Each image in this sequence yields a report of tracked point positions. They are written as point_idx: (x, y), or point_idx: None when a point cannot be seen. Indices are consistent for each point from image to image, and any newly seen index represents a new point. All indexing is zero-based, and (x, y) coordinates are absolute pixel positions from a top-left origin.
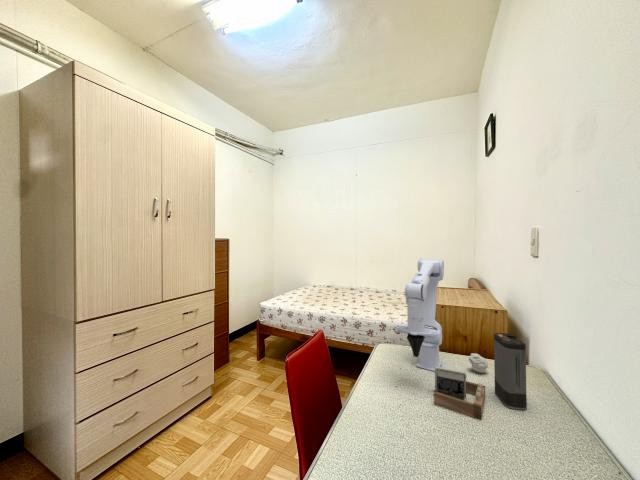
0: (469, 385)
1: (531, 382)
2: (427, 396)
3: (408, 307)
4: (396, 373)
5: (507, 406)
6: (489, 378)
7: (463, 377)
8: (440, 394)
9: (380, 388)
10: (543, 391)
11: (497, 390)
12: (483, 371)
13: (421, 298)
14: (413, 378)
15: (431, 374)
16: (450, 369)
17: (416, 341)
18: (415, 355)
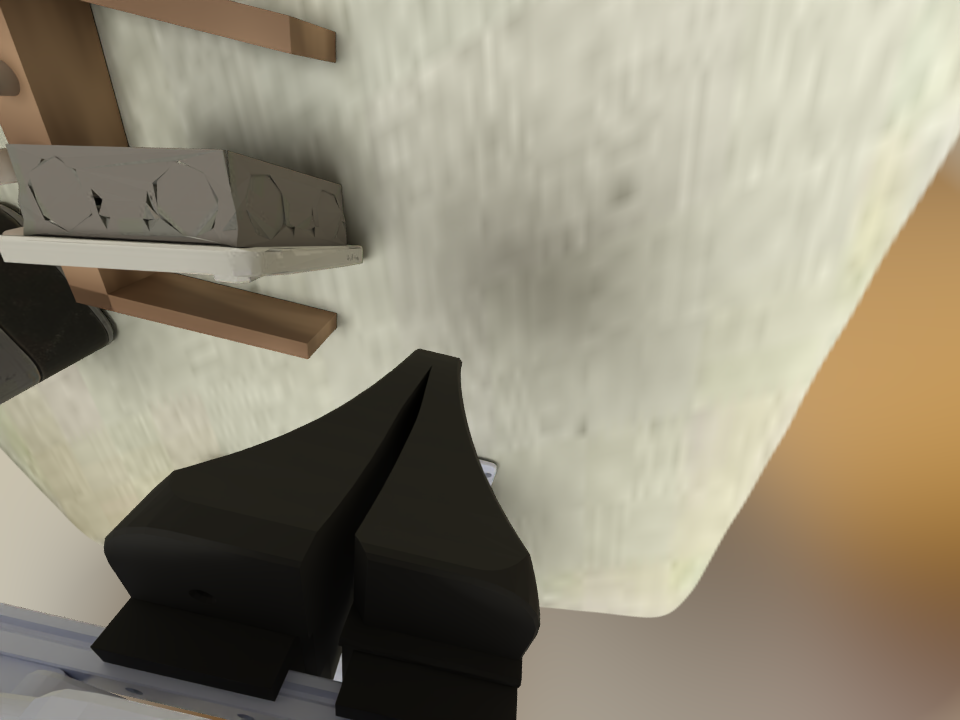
0: (164, 299)
1: (62, 452)
2: (396, 138)
3: None
4: (610, 367)
5: (6, 207)
6: (184, 443)
7: (19, 195)
8: (237, 13)
9: (765, 97)
10: (3, 403)
11: (54, 308)
12: None
13: None
14: (503, 342)
15: None
16: (106, 253)
17: (304, 488)
18: (433, 357)
